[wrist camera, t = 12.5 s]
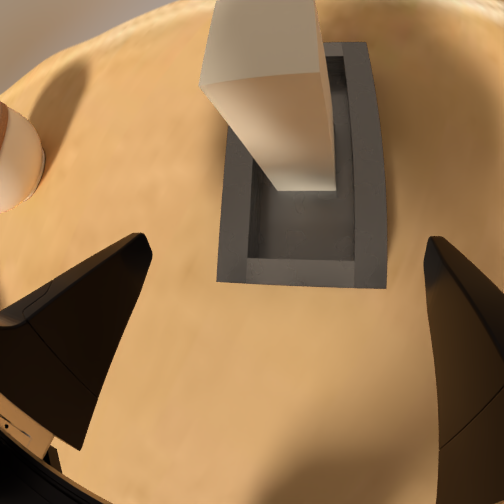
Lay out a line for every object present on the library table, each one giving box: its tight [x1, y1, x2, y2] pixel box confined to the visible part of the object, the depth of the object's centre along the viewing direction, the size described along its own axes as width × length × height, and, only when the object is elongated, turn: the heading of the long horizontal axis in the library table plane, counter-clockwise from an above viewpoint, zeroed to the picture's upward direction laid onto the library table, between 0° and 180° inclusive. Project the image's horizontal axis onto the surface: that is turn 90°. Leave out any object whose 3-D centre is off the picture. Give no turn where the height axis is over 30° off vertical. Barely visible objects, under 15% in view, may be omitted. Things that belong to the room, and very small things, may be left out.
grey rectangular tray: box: [216, 42, 387, 289], centre depth 16 cm, size 14×8×3 cm, turn 177°
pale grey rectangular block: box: [199, 0, 336, 191], centre depth 12 cm, size 4×3×10 cm
